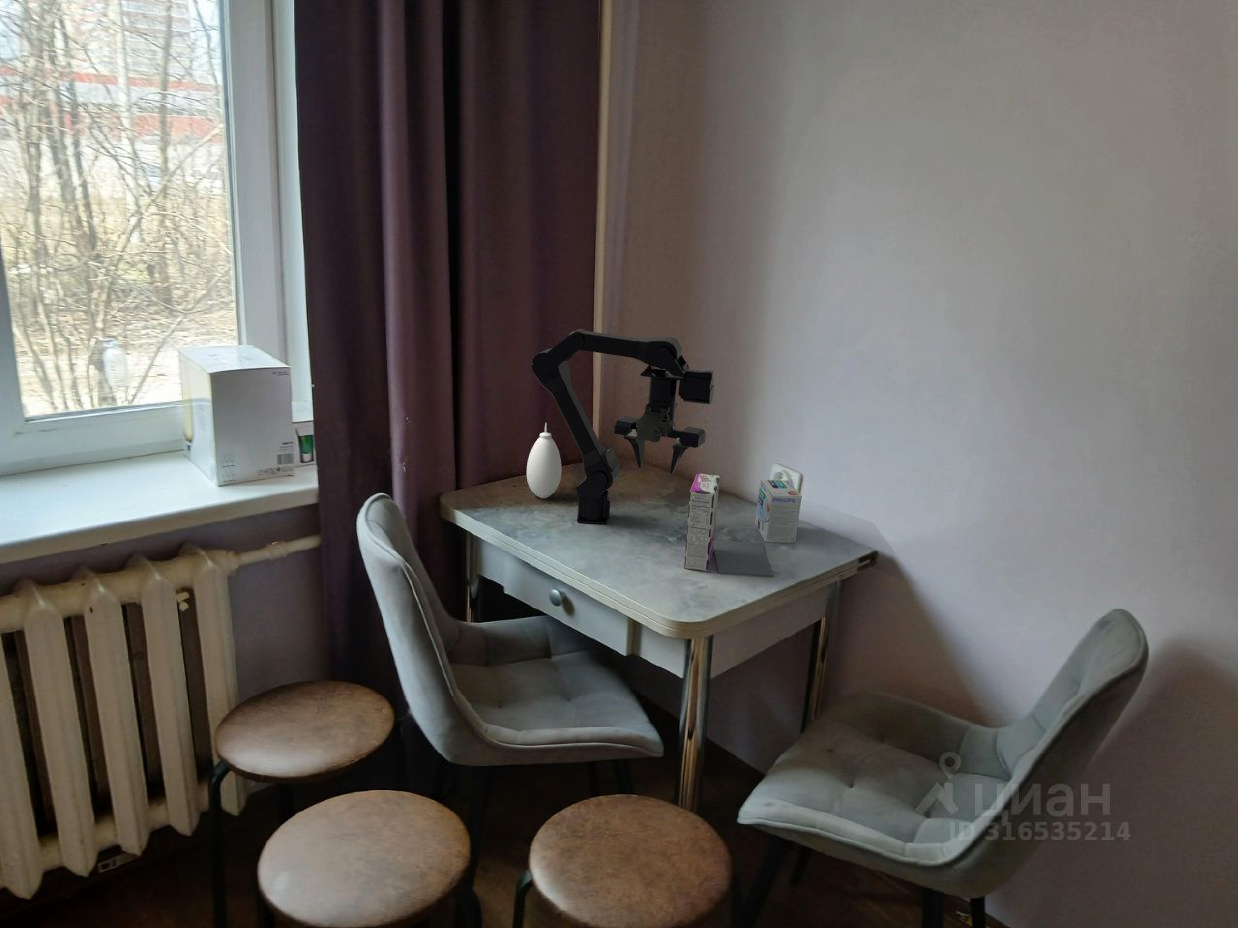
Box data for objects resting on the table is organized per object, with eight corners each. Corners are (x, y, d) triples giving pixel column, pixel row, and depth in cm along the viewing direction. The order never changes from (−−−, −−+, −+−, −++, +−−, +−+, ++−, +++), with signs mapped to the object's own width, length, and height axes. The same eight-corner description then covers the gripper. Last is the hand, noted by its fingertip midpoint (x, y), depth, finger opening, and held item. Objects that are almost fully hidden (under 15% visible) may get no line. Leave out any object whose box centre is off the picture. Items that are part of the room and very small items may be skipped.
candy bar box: (689, 547, 179) (696, 472, 174) (713, 551, 178) (721, 475, 173) (682, 569, 168) (689, 489, 163) (707, 572, 167) (715, 492, 162)
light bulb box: (754, 524, 194) (759, 478, 191) (783, 525, 195) (789, 479, 191) (765, 543, 184) (771, 495, 180) (796, 543, 184) (803, 496, 181)
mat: (718, 573, 167) (718, 571, 167) (711, 541, 182) (711, 539, 182) (772, 576, 167) (773, 575, 167) (761, 544, 182) (761, 543, 182)
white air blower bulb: (566, 496, 203) (570, 422, 198) (546, 505, 197) (549, 428, 192) (540, 489, 207) (542, 416, 202) (519, 497, 201) (521, 422, 196)
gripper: (605, 399, 176) (600, 472, 180) (692, 413, 169) (685, 489, 174) (626, 389, 186) (621, 459, 190) (709, 402, 179) (702, 474, 184)
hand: (656, 470), depth 184 cm, fingers open, 7 cm apart
